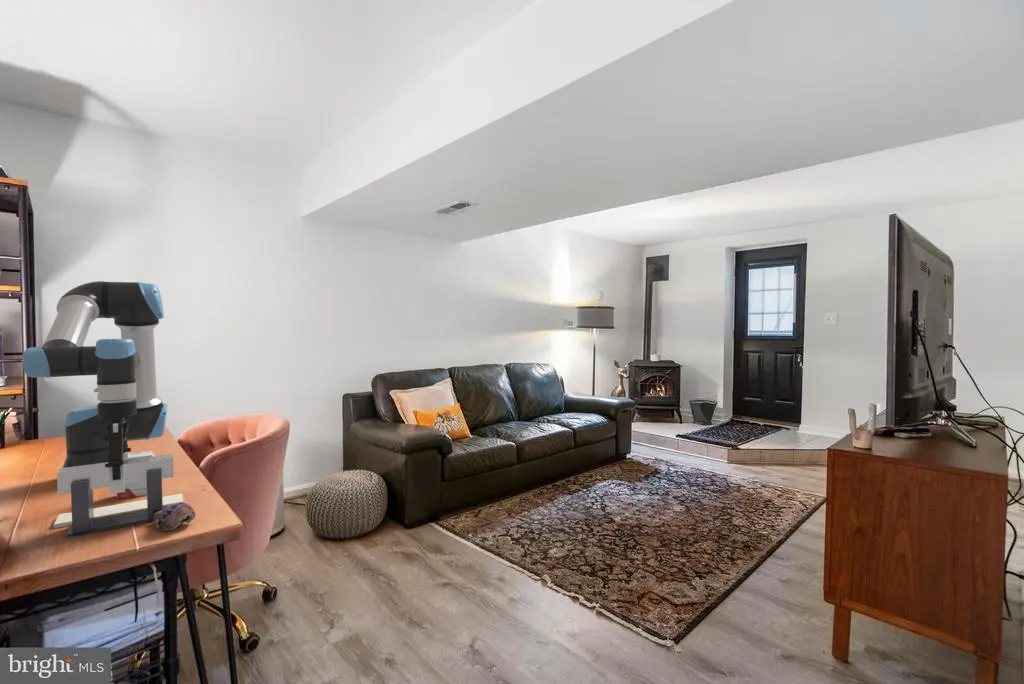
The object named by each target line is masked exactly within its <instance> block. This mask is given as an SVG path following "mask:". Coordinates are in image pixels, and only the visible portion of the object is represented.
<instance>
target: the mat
mask: <svg viewBox="0 0 1024 684" xmlns="http://www.w3.org/2000/svg"><path fill="white" fill-rule="evenodd" d="M181 502H184V497H183V493H178V494H172V495H167V496H163V507H164V506H167V507H169V506H171V505H174V504H177V503H181ZM93 508H94V507H93ZM142 510H147V499H142V500H137V501H131V502H125V503H117V504H112V505H107V506H106V505H105V506H100V507H95V508H94V519H97V518H103V517H109V516H114V515H120V514H125V513H131V512H136V511H142ZM71 525H72V511H71V512H66V513H59V514H58V516H57V518H56V520H55V521H54V523H53V529H58V528H64V527H71Z"/></svg>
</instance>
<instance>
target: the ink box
mask: <svg viewBox="0 0 1024 684" xmlns="http://www.w3.org/2000/svg"><path fill="white" fill-rule="evenodd" d="M152 456H155V452H154V451H152V450H148V451H142V452H132V453H131V452H130V453H128V460H129V459H137V458H144V457H152ZM140 496H147V481H144V482H137V483H131V484H125V492H121V493H116V499H117V500H120V499H121V500H122V499H128V498H129V499H130V498H134V497H140Z"/></svg>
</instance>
